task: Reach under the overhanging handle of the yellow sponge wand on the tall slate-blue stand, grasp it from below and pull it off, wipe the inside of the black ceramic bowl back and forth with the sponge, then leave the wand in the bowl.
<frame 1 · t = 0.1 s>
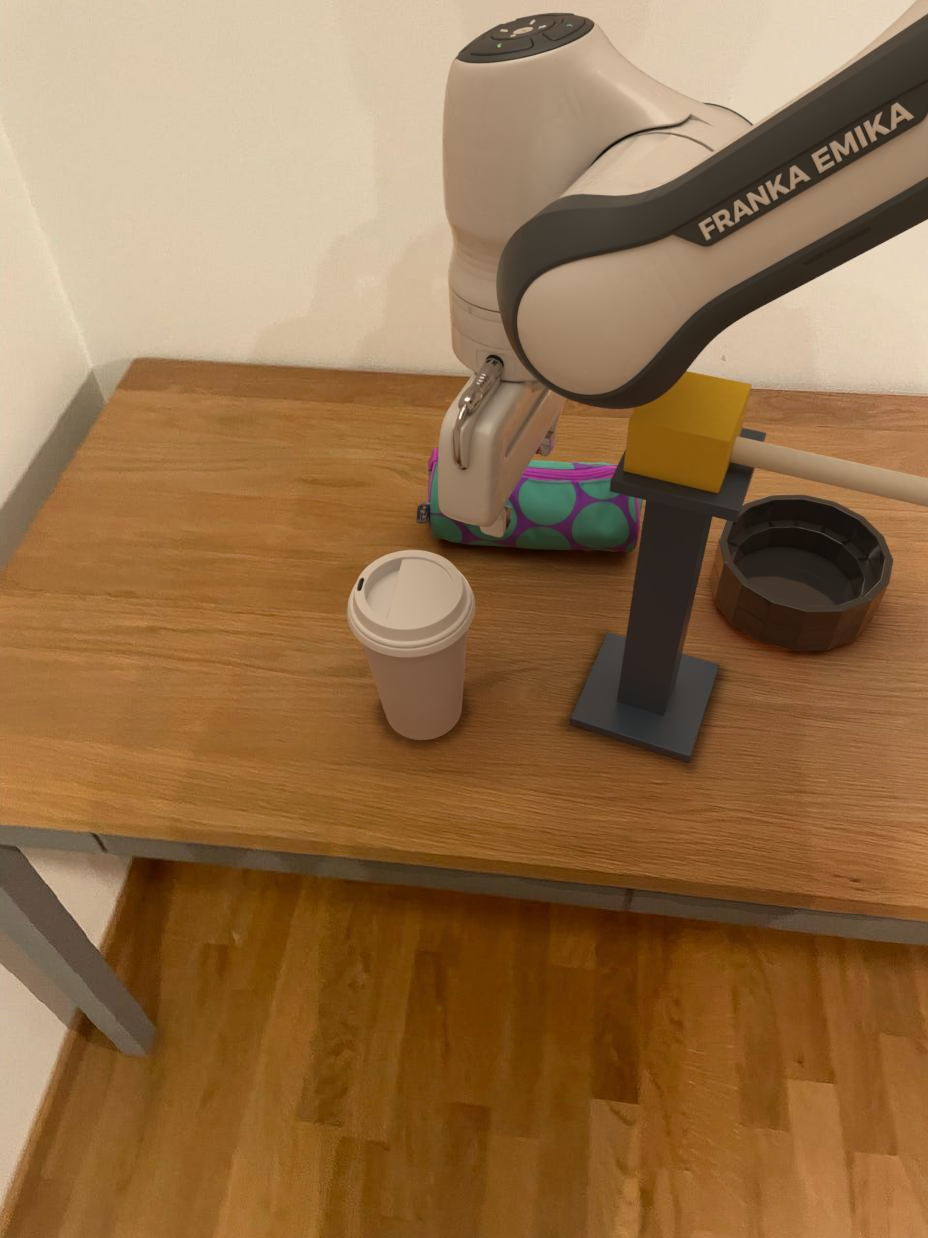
hand: (519, 487, 68), 19 cm above the table, tool pointing down, fingers open, 8 cm apart
pencil case: (530, 536, 92), on the table
coffee cup: (423, 709, 79), on the table
bowl: (789, 595, 85), on the table
stand: (645, 697, 78), on the table
sponge wand: (682, 453, 59), point 26 cm above the table, touching stand
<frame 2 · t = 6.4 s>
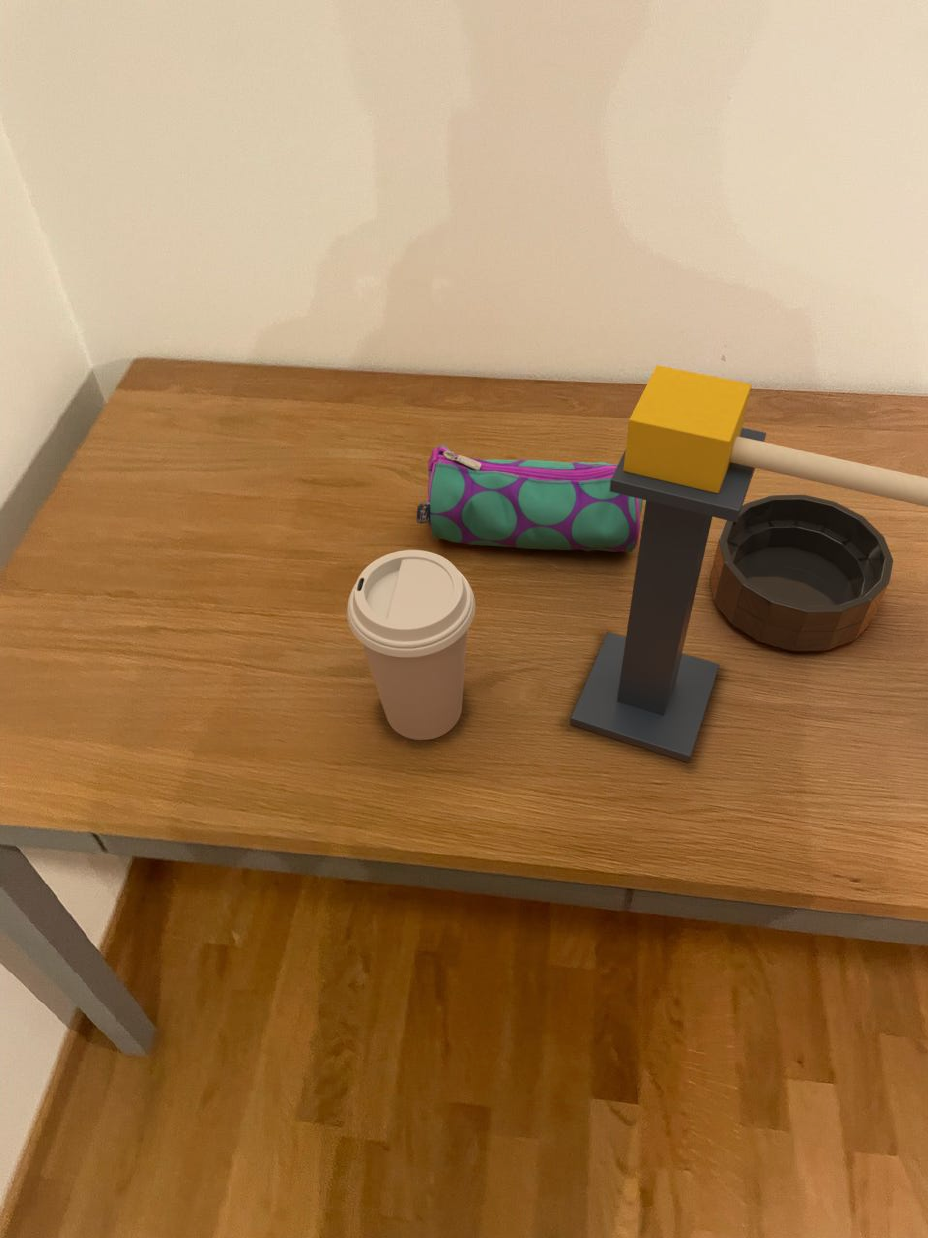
nothing on the table moved.
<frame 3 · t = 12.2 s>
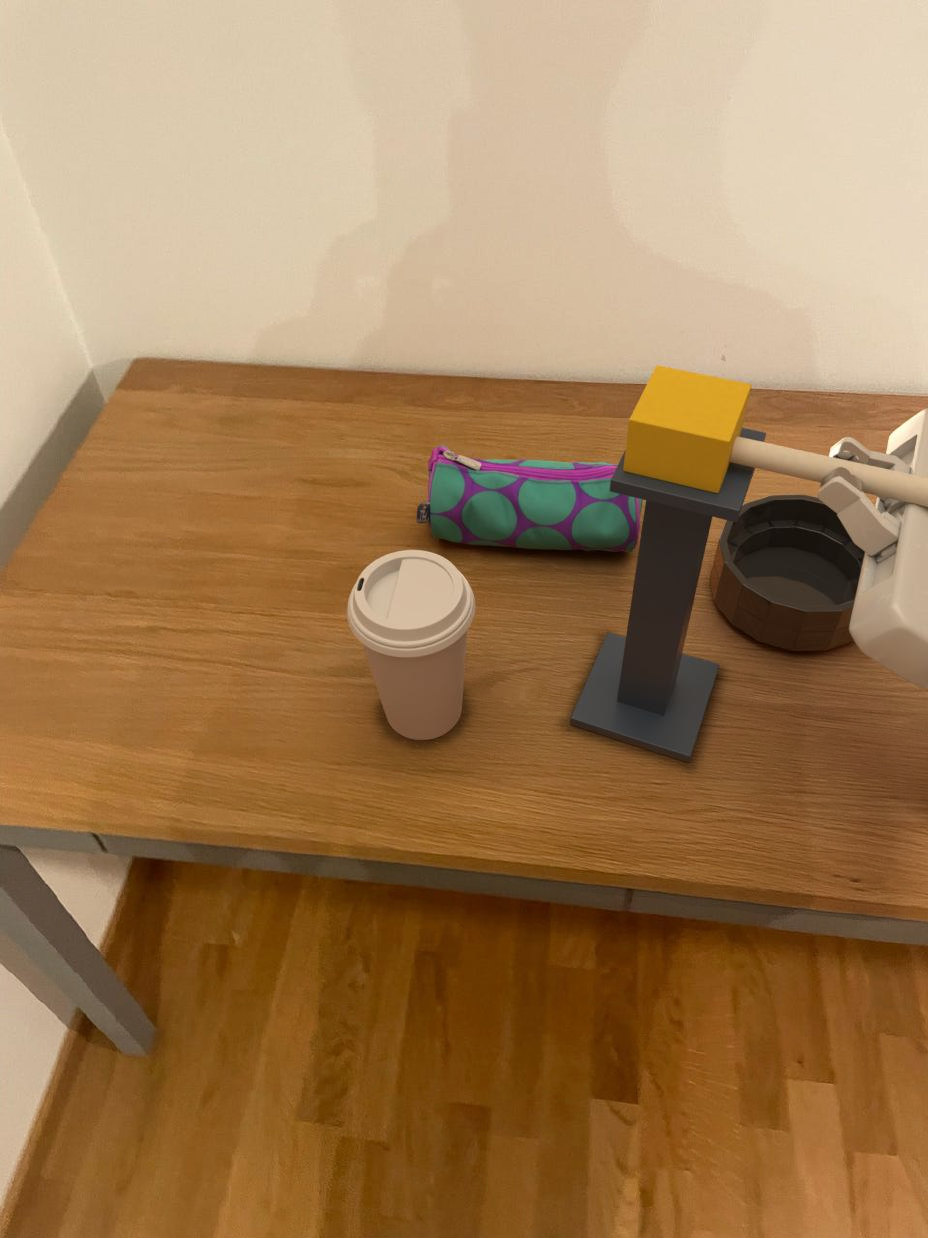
hand: (831, 464, 55), 28 cm above the table, tool pointing upward, fingers closed on sponge wand, 2 cm apart
sponge wand: (682, 453, 59), point 26 cm above the table, touching gripper, stand
everything else where it was.
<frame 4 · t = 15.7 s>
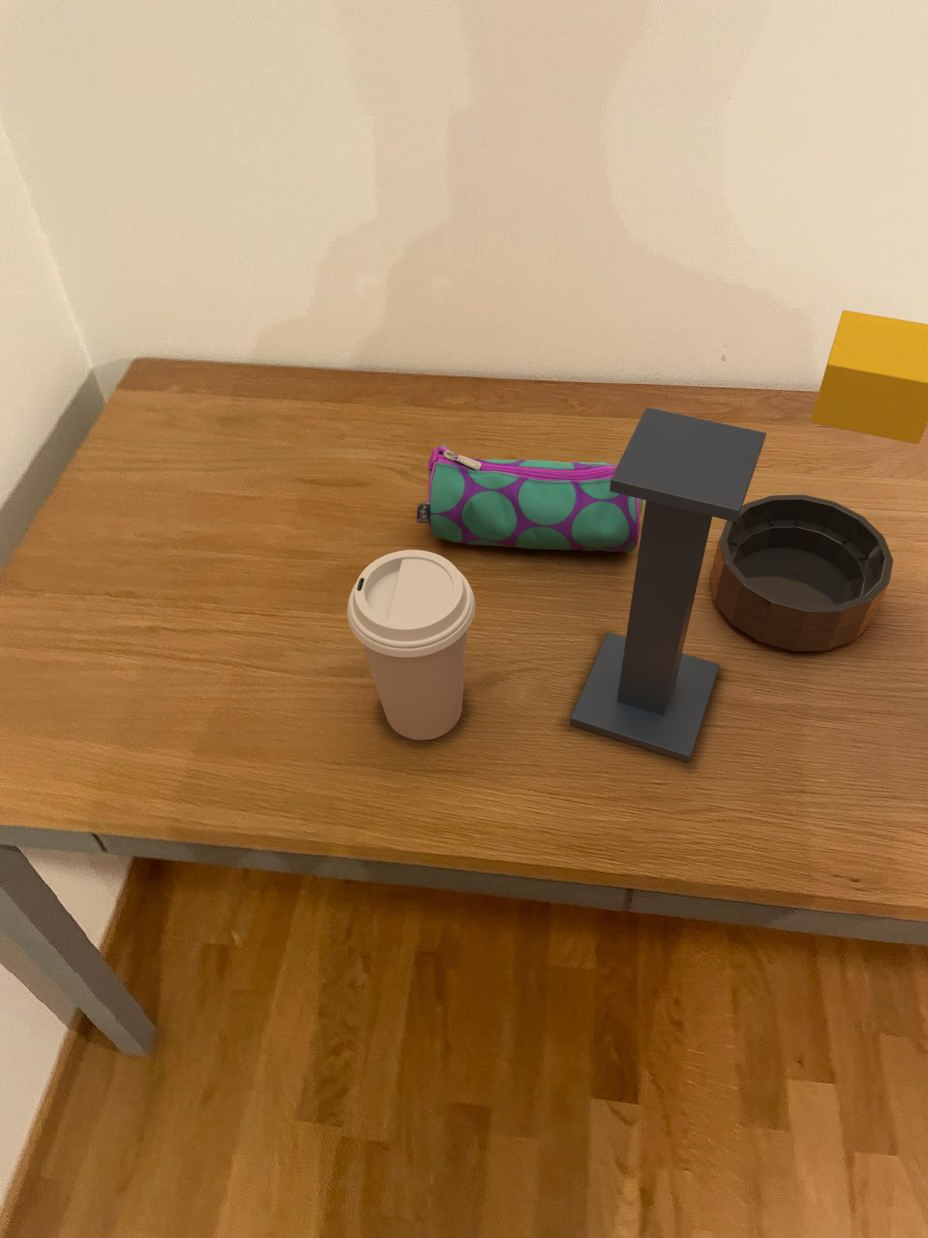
sponge wand: (869, 404, 55), point 30 cm above the table, touching gripper
everything else where it was.
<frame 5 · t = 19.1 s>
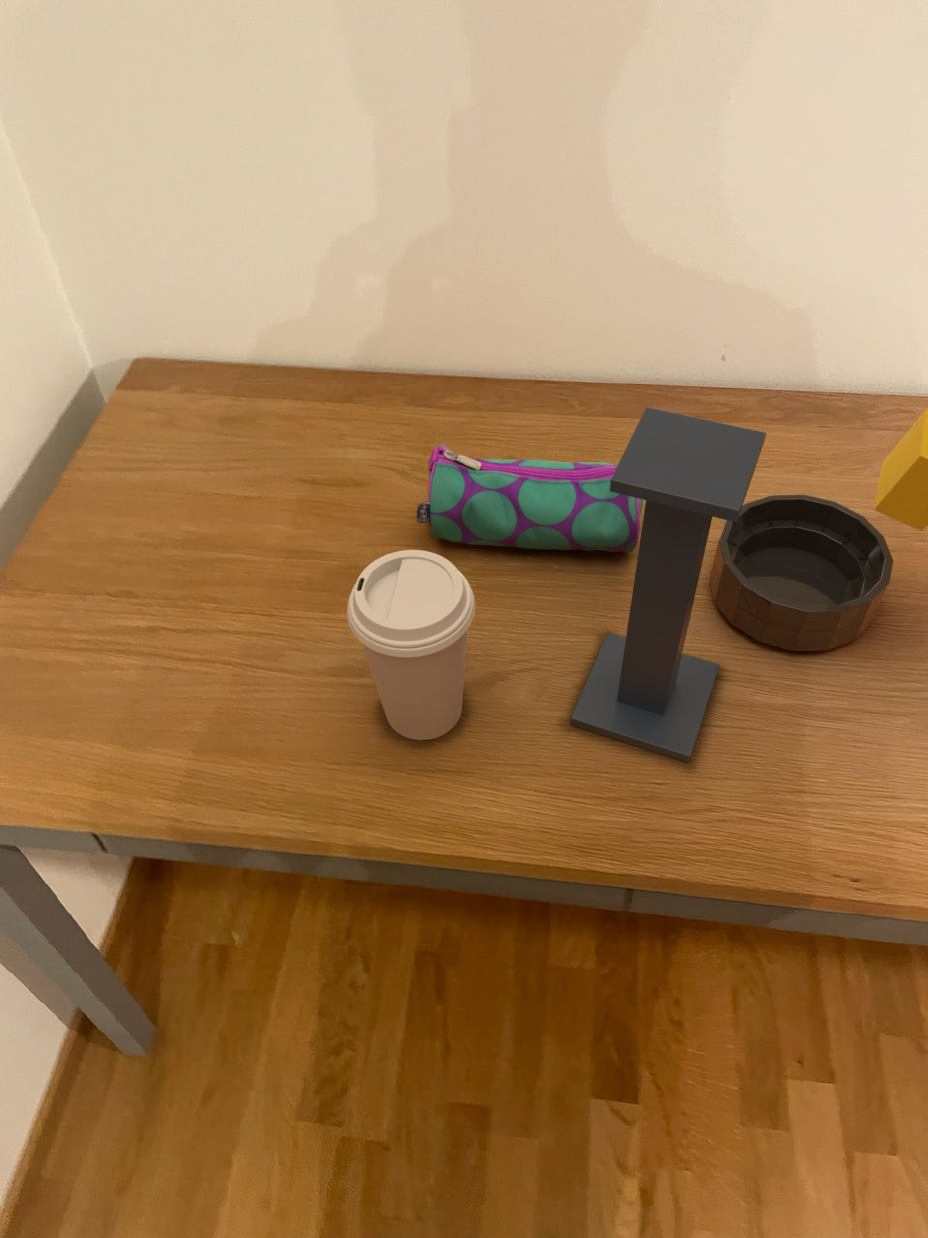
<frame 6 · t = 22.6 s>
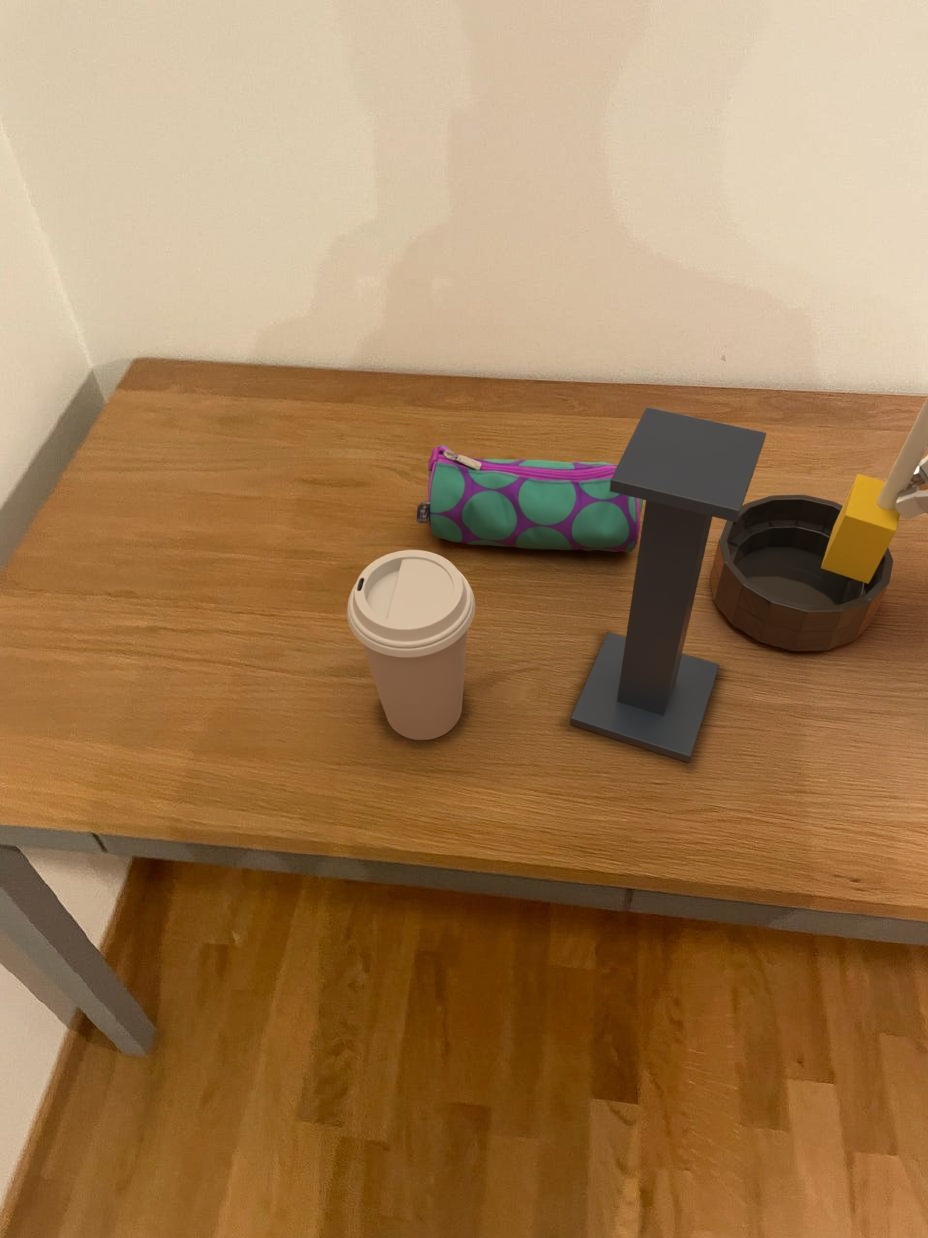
hand: (901, 494, 74), 13 cm above the table, tool tilted 45°, fingers closed on sponge wand, 2 cm apart
sponge wand: (887, 536, 77), point 9 cm above the table, tilted 86°, touching bowl, gripper
everything else where it was.
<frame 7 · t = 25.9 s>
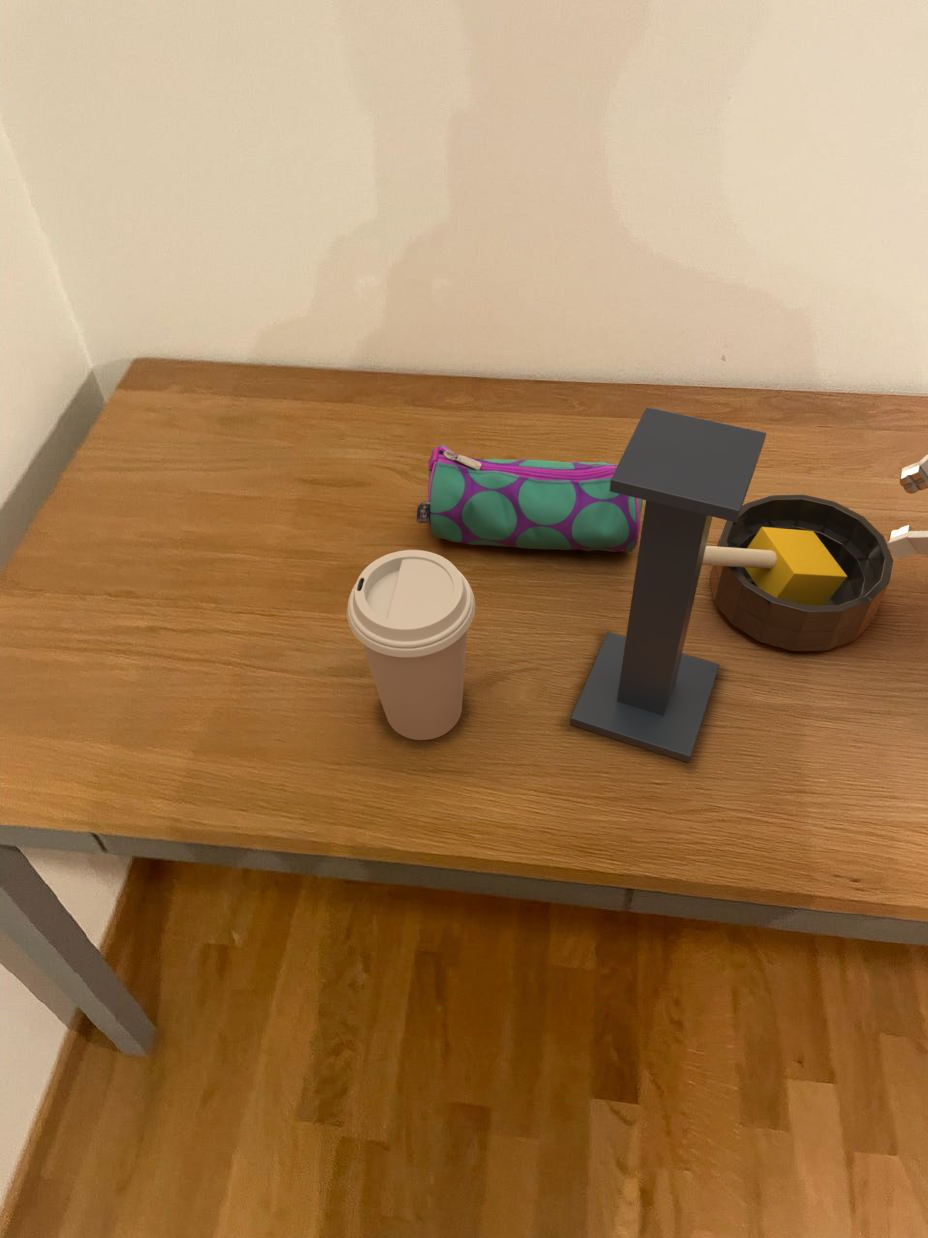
hand: (897, 513, 74), 12 cm above the table, tool tilted 45°, fingers open, 7 cm apart
sponge wand: (804, 551, 81), point 6 cm above the table, tilted 159°, touching bowl
everything else where it was.
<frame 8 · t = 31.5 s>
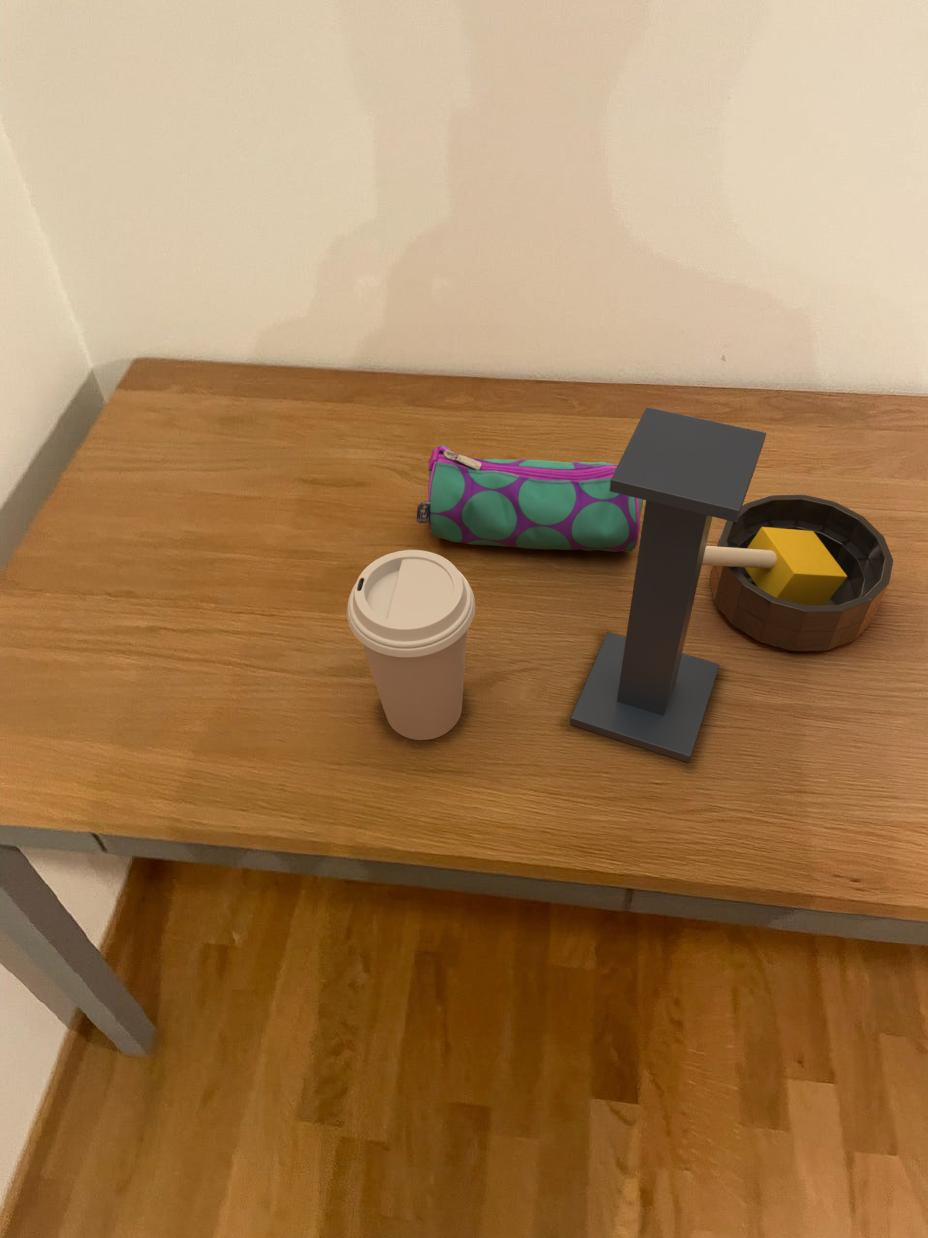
nothing on the table moved.
at the end: sponge wand moved 27.7 cm from its start; sponge wand 0.2 cm from the bowl (horizontally); the gripper is holding nothing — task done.
